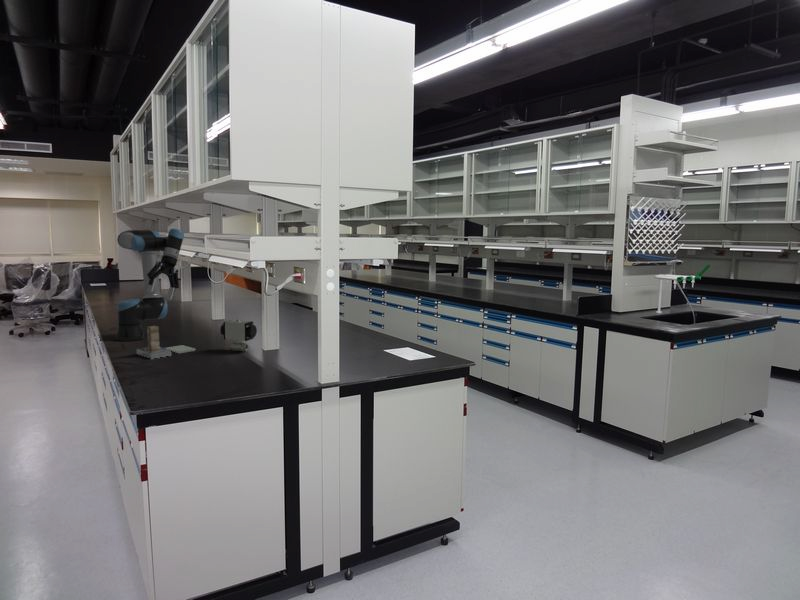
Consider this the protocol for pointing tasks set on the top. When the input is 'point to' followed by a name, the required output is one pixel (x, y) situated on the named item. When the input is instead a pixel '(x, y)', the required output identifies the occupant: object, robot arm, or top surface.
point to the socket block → (154, 353)
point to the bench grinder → (238, 333)
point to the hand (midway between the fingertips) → (159, 295)
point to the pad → (181, 349)
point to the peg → (153, 338)
